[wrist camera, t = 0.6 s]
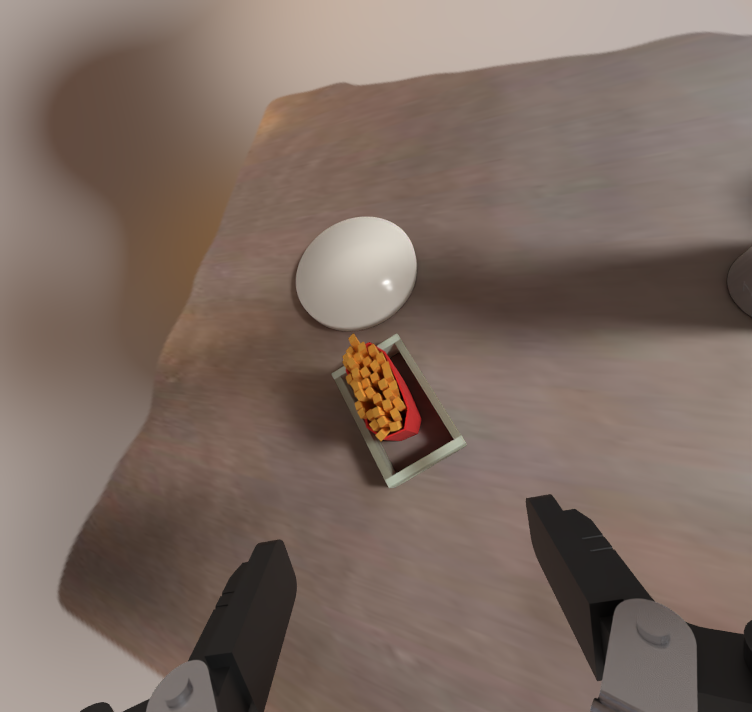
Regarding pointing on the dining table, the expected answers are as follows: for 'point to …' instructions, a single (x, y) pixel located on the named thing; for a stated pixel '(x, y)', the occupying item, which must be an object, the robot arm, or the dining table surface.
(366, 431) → the open rectangular box
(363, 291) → the ceramic plate
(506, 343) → the dining table surface
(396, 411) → the french fries
